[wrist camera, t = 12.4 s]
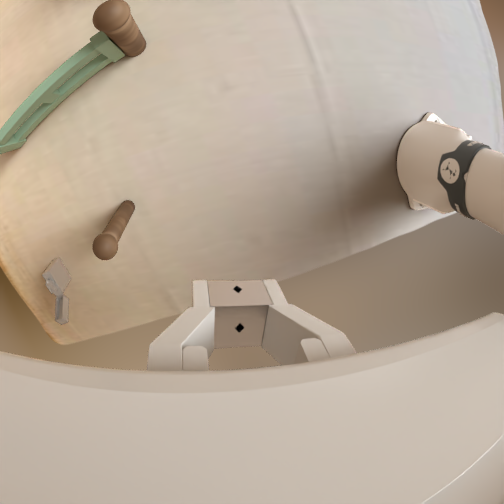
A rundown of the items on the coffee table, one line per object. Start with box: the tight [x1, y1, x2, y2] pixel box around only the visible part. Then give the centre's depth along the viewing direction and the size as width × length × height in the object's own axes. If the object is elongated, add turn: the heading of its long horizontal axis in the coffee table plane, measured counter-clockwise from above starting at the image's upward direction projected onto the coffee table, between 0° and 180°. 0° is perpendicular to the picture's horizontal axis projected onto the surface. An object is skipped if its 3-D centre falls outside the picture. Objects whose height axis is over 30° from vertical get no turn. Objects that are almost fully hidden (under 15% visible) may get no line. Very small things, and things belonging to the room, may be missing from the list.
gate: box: [0, 31, 125, 154], centre depth 21 cm, size 2×19×8 cm, turn 118°
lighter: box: [42, 257, 71, 325], centre depth 33 cm, size 7×2×8 cm, turn 16°
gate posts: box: [93, 0, 146, 260], centre depth 23 cm, size 3×25×14 cm, turn 175°
